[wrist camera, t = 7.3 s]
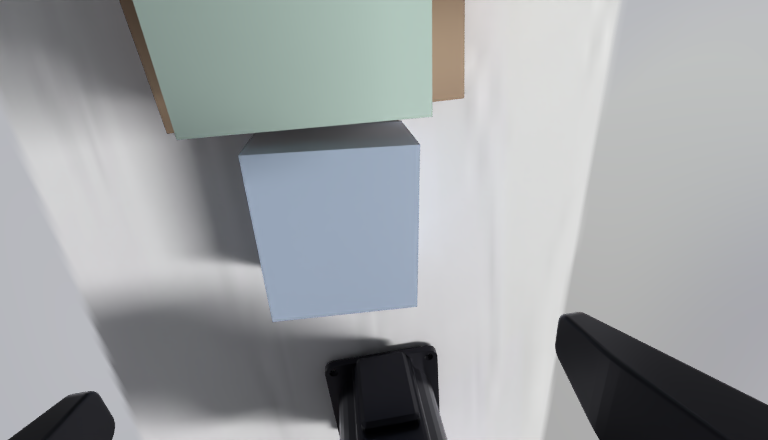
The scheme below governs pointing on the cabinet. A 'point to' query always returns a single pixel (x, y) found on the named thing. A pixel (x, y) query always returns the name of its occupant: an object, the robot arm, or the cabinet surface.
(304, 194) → the slate block
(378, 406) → the robot arm
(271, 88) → the sage block
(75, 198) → the cabinet surface
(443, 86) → the walnut block
